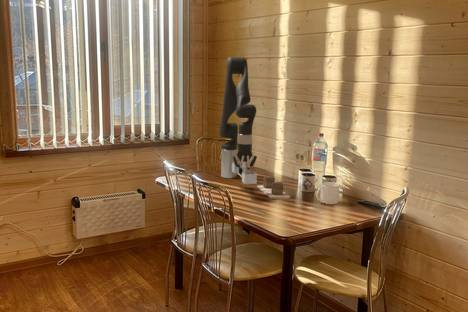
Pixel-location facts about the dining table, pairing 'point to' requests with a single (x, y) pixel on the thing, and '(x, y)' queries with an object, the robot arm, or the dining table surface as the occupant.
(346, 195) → the dining table surface
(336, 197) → the mug
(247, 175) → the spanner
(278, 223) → the dining table surface
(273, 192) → the peg rack
